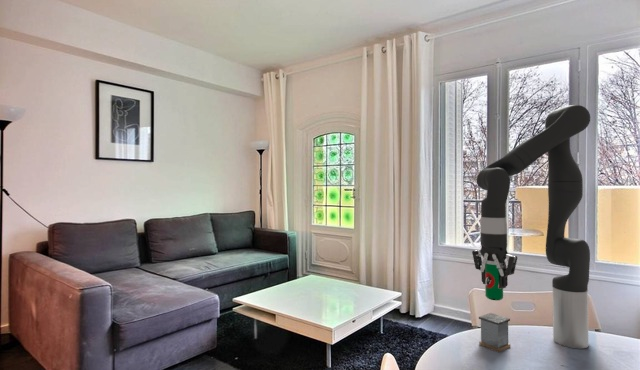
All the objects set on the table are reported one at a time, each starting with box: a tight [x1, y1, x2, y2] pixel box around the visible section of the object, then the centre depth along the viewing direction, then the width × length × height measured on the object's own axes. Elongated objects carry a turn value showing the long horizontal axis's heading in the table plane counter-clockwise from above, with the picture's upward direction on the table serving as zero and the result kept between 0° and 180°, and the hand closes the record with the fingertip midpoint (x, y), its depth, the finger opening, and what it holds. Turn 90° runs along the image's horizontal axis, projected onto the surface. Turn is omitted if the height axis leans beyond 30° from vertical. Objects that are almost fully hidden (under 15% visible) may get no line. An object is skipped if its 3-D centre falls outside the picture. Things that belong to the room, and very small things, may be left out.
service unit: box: [478, 312, 511, 353], centre depth 113 cm, size 6×6×9 cm
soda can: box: [484, 260, 504, 301], centre depth 113 cm, size 5×5×12 cm
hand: (494, 285), depth 113 cm, fingers closed on soda can, 5 cm apart
